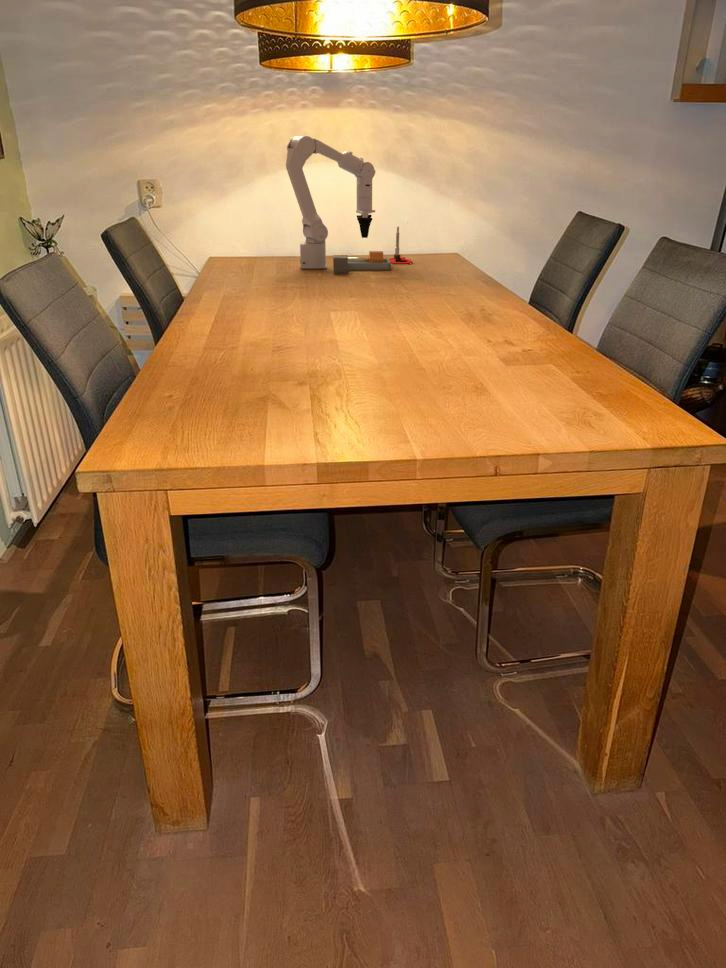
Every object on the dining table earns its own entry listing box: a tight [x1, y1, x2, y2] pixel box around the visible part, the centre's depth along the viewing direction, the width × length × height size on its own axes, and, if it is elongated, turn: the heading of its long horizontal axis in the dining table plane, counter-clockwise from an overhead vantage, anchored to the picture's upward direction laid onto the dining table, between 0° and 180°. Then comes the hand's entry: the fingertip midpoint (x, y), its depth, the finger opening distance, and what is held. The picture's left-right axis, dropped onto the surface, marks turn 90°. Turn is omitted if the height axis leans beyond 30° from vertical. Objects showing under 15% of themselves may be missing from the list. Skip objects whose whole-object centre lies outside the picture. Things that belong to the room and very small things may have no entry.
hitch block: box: [332, 254, 349, 275], centre depth 262 cm, size 5×7×5 cm
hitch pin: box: [348, 250, 384, 263], centre depth 271 cm, size 15×4×5 cm, turn 92°
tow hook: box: [389, 226, 413, 265], centre depth 280 cm, size 8×13×9 cm
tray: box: [348, 257, 392, 271], centre depth 271 cm, size 20×11×2 cm, turn 92°
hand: (364, 236), depth 276 cm, fingers open, 7 cm apart
